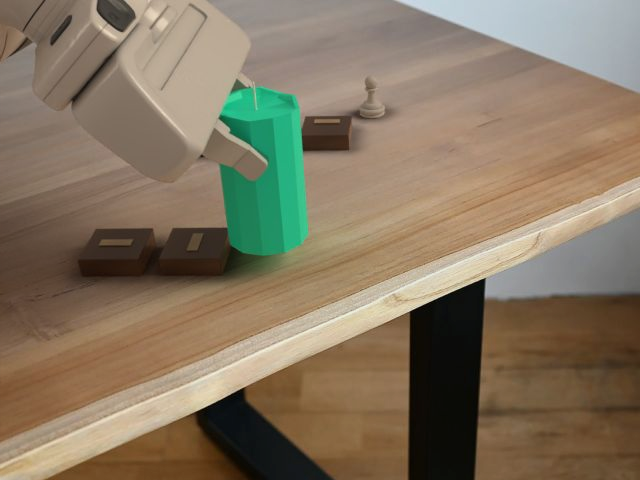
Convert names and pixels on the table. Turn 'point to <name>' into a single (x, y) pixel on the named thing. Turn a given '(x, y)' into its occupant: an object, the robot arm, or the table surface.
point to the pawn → (371, 101)
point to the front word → (138, 244)
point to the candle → (266, 173)
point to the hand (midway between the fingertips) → (269, 150)
